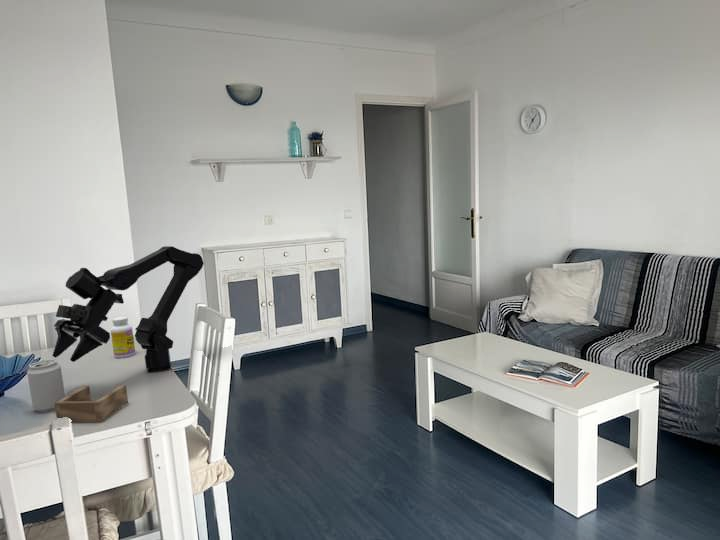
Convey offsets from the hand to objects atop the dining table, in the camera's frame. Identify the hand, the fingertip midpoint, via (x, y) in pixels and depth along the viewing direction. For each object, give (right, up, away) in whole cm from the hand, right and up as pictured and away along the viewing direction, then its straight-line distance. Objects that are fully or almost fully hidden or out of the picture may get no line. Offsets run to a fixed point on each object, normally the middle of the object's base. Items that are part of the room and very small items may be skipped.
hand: (62, 358), depth 143 cm
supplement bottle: (-1, -6, +41) cm, 41 cm away
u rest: (+12, -12, -8) cm, 19 cm away
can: (-2, -12, -2) cm, 13 cm away
